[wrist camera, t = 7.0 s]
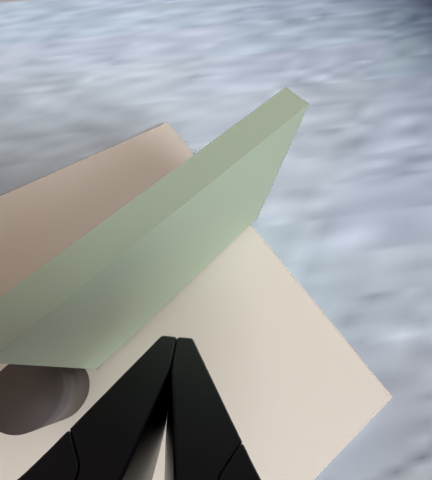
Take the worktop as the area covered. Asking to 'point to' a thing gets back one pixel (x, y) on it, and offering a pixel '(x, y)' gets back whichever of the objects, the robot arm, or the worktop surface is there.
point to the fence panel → (147, 247)
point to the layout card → (201, 321)
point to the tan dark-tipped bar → (39, 396)
